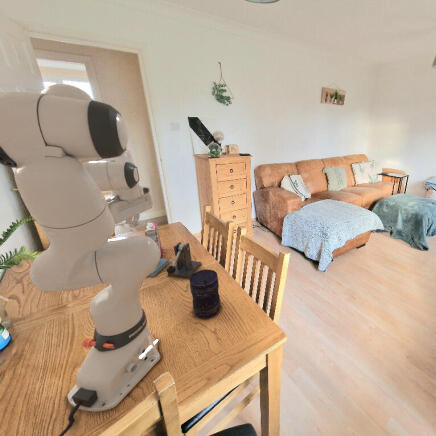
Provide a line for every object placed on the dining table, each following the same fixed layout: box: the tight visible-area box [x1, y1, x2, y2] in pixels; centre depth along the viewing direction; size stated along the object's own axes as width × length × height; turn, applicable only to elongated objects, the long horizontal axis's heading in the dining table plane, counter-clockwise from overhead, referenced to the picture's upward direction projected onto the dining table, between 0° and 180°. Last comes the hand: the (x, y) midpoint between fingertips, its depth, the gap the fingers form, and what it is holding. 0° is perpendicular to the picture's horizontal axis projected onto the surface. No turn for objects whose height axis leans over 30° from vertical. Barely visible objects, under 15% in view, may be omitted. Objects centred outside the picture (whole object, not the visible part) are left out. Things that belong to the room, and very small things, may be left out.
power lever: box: [165, 243, 185, 274], centre depth 106 cm, size 14×4×4 cm, turn 171°
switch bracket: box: [167, 241, 202, 280], centre depth 112 cm, size 12×10×14 cm
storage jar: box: [188, 269, 221, 320], centre depth 89 cm, size 10×10×15 cm
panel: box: [147, 257, 170, 278], centre depth 113 cm, size 12×10×4 cm
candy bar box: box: [144, 221, 163, 258], centre depth 123 cm, size 11×5×16 cm, turn 25°
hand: (134, 226), depth 95 cm, fingers closed
